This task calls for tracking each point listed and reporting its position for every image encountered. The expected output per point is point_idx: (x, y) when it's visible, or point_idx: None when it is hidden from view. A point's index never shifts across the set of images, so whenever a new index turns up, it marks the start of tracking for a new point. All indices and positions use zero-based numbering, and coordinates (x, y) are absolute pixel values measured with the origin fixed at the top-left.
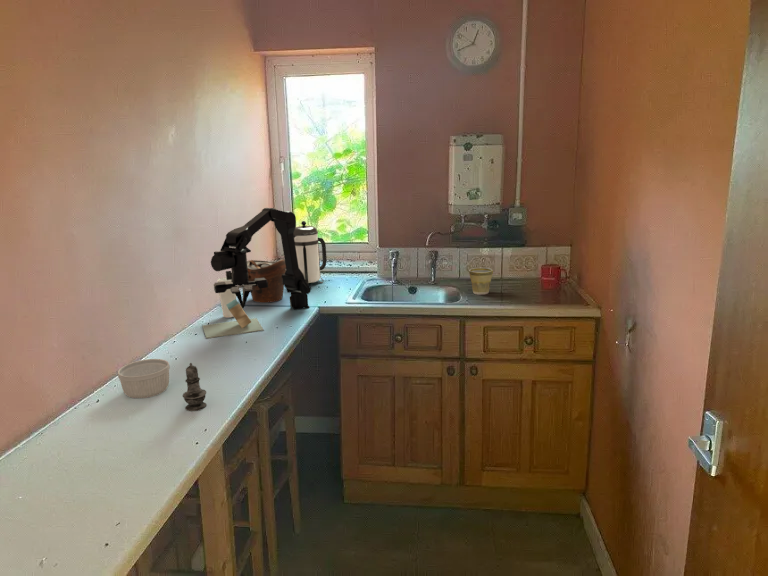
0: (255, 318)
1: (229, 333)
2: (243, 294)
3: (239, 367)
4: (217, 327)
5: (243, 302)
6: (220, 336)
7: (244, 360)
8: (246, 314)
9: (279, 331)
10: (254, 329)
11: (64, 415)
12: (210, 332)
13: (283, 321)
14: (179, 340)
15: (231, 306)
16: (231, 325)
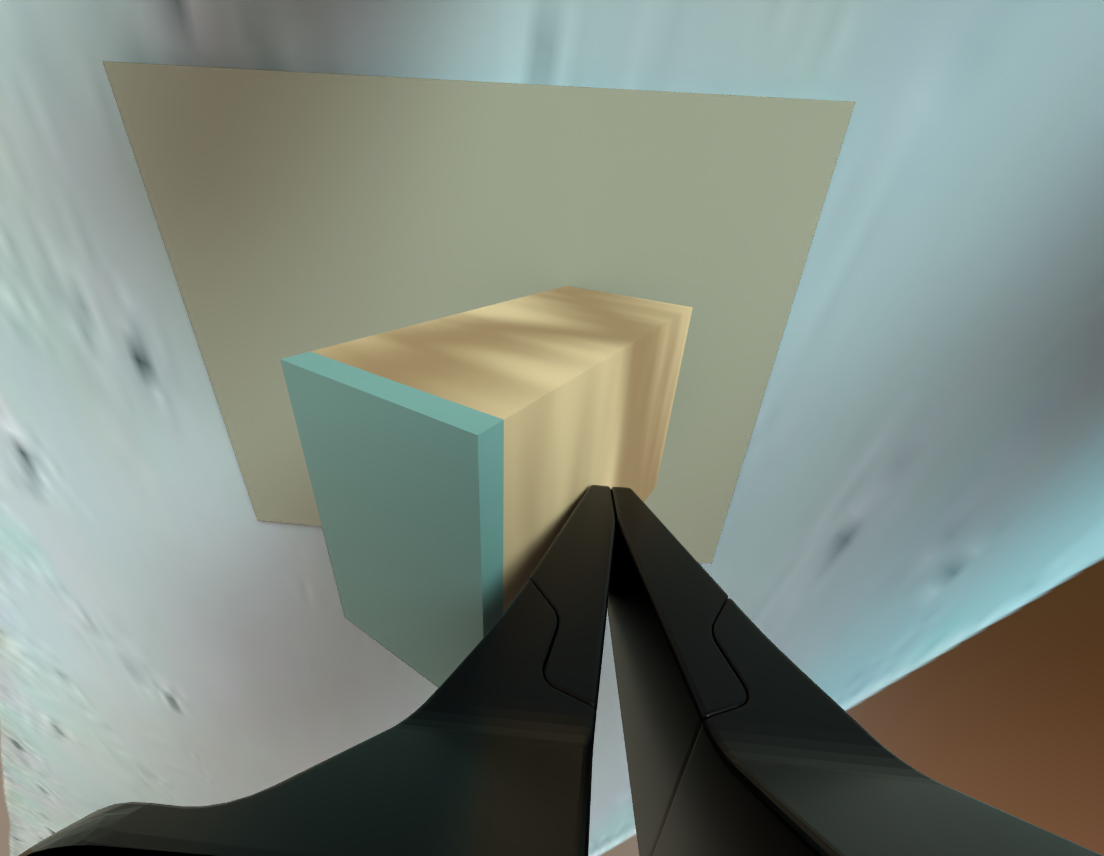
0: (830, 118)
1: None
2: (668, 839)
3: None
4: (316, 283)
5: (613, 652)
6: None
7: None
8: (661, 364)
9: (797, 623)
10: None
11: (15, 852)
12: (269, 414)
13: (1020, 406)
14: (53, 450)
15: (386, 646)
16: (469, 290)
